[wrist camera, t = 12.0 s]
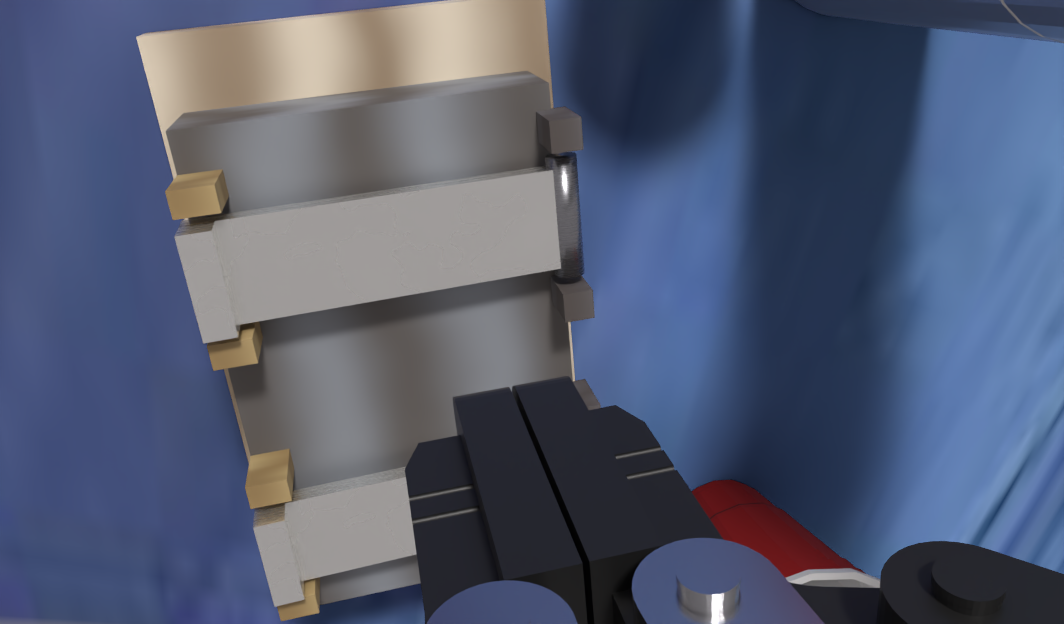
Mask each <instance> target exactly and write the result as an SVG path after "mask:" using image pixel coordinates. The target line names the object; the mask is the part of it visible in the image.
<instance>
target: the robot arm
mask: <svg viewBox="0 0 1064 624" xmlns="http://www.w3.org/2000/svg"><path fill="white" fill-rule="evenodd" d="M795 1H797V2H798V3H799V4H801V5H802V6H803V7H805V8H806V9H809V10H811V11H814V12H817V13H819V14H822V15H827V16H835V17H843V18H851V19H859V20H867V21H875V22H880V23H889V24H898V25H907V26H916V27H925V28H934V29H943V30H951V31H960V32H969V33H978V34H987V35H996V36H1005V37H1014V38H1023V39H1032V40H1040V41H1049V42H1058V43H1064V0H795ZM453 407H454V415H455V422H456V429H457V436H453V437H447V438H442V439H437V440H432V441H426V442H421V443H418V445H417V447H416V449H415V451H414V452H413V454H412V456H411V458H410V460H409V462H408V464H407V466H406V468H405V475H406V482H407V489H408V496H409V503H410V511H411V518H412V524H413V532H414V539H415V546H416V553H417V560H418V568H419V575H420V582H421V589H422V596H423V603H424V610H425V624H1064V574H1061V573H1058V572H1055V571H1052V570H1049V569H1046V568H1043V567H1040V566H1037V565H1034V564H1031V563H1028V562H1025V561H1022V560H1019V559H1016V558H1013V557H1010V556H1007V555H1004V554H1001V553H998V552H995V551H992V550H989V549H985V548H982V547H978V546H975V545H970V544H965V543H959V542H948V541H933V542H924V543H918V544H915V545H911V546H908V547H906V548H903V549H901V550H899V551H897V552H896V553H895V554H893V555H892V556H891V557H890V558H889V559H888V560H887V562H886V563H885V564H884V567H883V569H882V571H881V579H880V588H863V587H821V586H807V585H801V584H795V583H791V582H788V581H787V579H786V578H785V577H784V576H783V575H782V574H781V572H780V571H779V570H778V569H777V568H776V567H775V566H774V565H773V564H772V563H771V562H770V561H769V560H768V559H767V558H765V557H764V556H763V555H761V554H760V553H758V552H756V551H754V550H752V549H751V548H749V547H746V546H744V545H741V544H738V543H735V542H731V541H727V540H724V539H723V538H722V536H721V535H720V533H719V532H718V530H717V529H716V527H715V526H714V524H713V523H712V521H711V520H710V518H709V517H708V516H707V514H706V513H705V511H704V510H703V508H702V507H701V505H700V504H699V502H698V501H697V499H696V498H695V496H694V495H693V493H692V492H691V490H690V489H689V487H688V486H687V484H686V483H685V481H684V480H683V478H682V477H681V476H680V474H679V473H678V471H677V470H674V466H673V464H672V462H671V461H670V459H669V458H668V456H667V455H666V453H665V452H664V450H662V451H661V447H660V444H659V443H658V441H657V440H656V438H655V437H654V436H653V434H652V433H651V431H650V430H649V428H648V427H647V425H646V424H645V422H643V421H642V420H640V419H638V418H636V417H635V416H633V415H631V414H630V413H628V412H626V411H624V410H623V409H621V408H619V407H618V406H616V405H614V406H609V407H604V408H598V409H593V410H588V408H587V406H586V405H585V403H584V401H583V399H582V398H581V396H580V394H579V392H578V390H577V389H576V387H575V385H574V383H573V382H572V380H571V378H570V377H569V376H563V377H558V378H552V379H547V380H541V381H536V382H530V383H525V384H519V385H514V386H512V392H511V389H510V388H509V387H504V388H499V389H493V390H488V391H482V392H477V393H471V394H466V395H460V396H455V397H453Z"/></svg>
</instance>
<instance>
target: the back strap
mask: <svg viewBox="0 0 1064 624" xmlns="http://www.w3.org/2000/svg"><path fill="white" fill-rule="evenodd" d="M405 468H406V467H401V468H397V469H392V470H387V471H383V472H378V473H373V474H369V475H364V476H359V477H355V478H350V479H345V480H341V481H336V482H331V483H327V484H322V485H317V486H313V487H308V488H303V489H299V490H294V491H293V492H292V501H289V502H284V503H279V504H274V505H269V506H264V507H259V508H255V512H254V524H253V529H254V532H255V536H256V540H257V543H258V547H259V551H260V554H261V558H262V562H263V565H264V569H265V573H266V577H267V580H268V584H269V588H270V591H271V595H272V599H273V602H274V606H275V607H276V606H280V605H284V604H288V603H293V602H297V601H301V600H304V581H305V580H310V579H314V578H318V577H322V576H327V575H331V574H335V573H339V572H344V571H348V570H352V569H356V568H361V567H365V566H369V565H373V564H378V563H382V562H386V561H390V560H395V559H399V558H403V557H407V556H412V555H416V554H417V553H416V546H415V539H414V532H413V524H412V518H411V511H410V503H409V496H408V489H407V482H406V475H405Z"/></svg>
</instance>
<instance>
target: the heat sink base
mask: <svg viewBox="0 0 1064 624" xmlns="http://www.w3.org/2000/svg"><path fill="white" fill-rule="evenodd" d="M136 38H137V42H138V46H139V49H140V53H141V57H142V61H143V64H144V68H145V72H146V76H147V80H148V83H149V87H150V91H151V95H152V99H153V102H154V106H155V110H156V114H157V118H158V121H159V125H160V129H161V133H162V136H163V140H164V144H165V148H166V152H167V155H168V159H169V163H170V167H171V171H172V174H173V178H174V180H173V182H172V183H171V184H170V186H169V187H168V188H167V190H166V191H165V193H166V197H167V200H168V204H169V208H170V211H171V215H172V219H173V220H177V219H184V220H188V219H195V218H201V217H208V216H215V215H221V214H228V213H235V212H241V211H248V210H255V209H261V208H268V207H274V206H281V205H288V204H294V203H301V202H308V201H314V200H321V199H328V198H334V197H341V196H348V195H354V194H361V193H368V192H374V191H381V190H388V189H394V188H401V187H408V186H414V185H421V184H428V183H434V182H441V181H448V180H454V179H461V178H467V177H474V176H481V175H487V174H494V173H501V172H507V171H514V170H521V169H527V168H534V167H541V166H546V164H545V156H546V155H548V154H555V153H562V152H570V151H577V150H583V136H582V121H581V116H579V115H577V114H576V113H574V112H573V111H571V110H570V109H568V108H566V107H558V108H553V96H552V84H551V71H550V58H549V46H548V33H547V20H546V8H545V0H448V1H438V2H429V3H420V4H411V5H401V6H392V7H383V8H374V9H364V10H355V11H346V12H336V13H327V14H318V15H309V16H299V17H290V18H281V19H272V20H262V21H253V22H244V23H234V24H225V25H216V26H207V27H197V28H188V29H179V30H170V31H160V32H151V33H145V34H143V35H140V36H137V37H136ZM589 318H595V317H594V302H593V290H592V288H591V287H590V286H589V285H588V283H587V282H586V281H585V280H584V278H583V277H582V276H579V277H575V278H560V277H557V276H556V275H555V270H550V271H544V272H539V273H533V274H527V275H521V276H516V277H510V278H504V279H499V280H493V281H487V282H481V283H476V284H470V285H464V286H458V287H453V288H447V289H441V290H436V291H430V292H424V293H418V294H413V295H407V296H401V297H395V298H390V299H384V300H378V301H373V302H367V303H361V304H355V305H350V306H344V307H338V308H332V309H327V310H321V311H315V312H310V313H304V314H298V315H292V316H287V317H281V318H275V319H269V320H264V321H258V322H252V323H247V324H241V325H240V331H239V336H238V337H237V338H232V339H226V340H221V341H215V342H209V343H208V345H207V349H208V352H209V356H210V360H211V363H212V367H213V371H215V370H221V369H224V371H225V375H226V379H227V383H228V386H229V390H230V394H231V398H232V402H233V405H234V409H235V413H236V417H237V421H238V424H239V428H240V432H241V436H242V439H243V443H244V447H245V451H246V455H247V458H248V462H249V468H248V474H247V480H246V486H245V489H246V493H247V497H248V501H249V504H250V508H251V509H253V508H259V507H264V506H269V505H274V504H279V503H284V502H289V501H292V492H293V491H294V490H299V489H303V488H308V487H313V486H317V485H322V484H327V483H331V482H336V481H341V480H345V479H350V478H355V477H359V476H364V475H369V474H373V473H378V472H383V471H387V470H392V469H397V468H401V467H406V466H407V464H408V462H409V460H410V458H411V456H412V454H413V452H414V451H415V449H416V447H417V445H418V443H421V442H426V441H432V440H437V439H442V438H447V437H453V436H457V429H456V422H455V415H454V407H453V397H455V396H460V395H466V394H471V393H477V392H482V391H488V390H493V389H499V388H504V387H509V388H510V389H511V392H512V386H514V385H519V384H525V383H530V382H536V381H541V380H547V379H552V378H558V377H563V376H569V377H570V378H571V380H572V382H573V383H574V385H575V387H576V389H577V390H578V392H579V394H580V396H581V398H582V399H583V401H584V403H585V405H586V406H587V408H588V410H593V409H598V408H600V403H599V402H598V400H597V398H596V397H595V395H594V393H593V392H592V390H591V388H590V387H589V385H588V383H587V382H586V380H585V379H583V380H577V381H575V375H574V362H573V349H572V337H571V324H570V322H572V321H578V320H584V319H589ZM419 583H421V582H420V575H419V568H418V560H417V554H416V555H412V556H407V557H403V558H399V559H395V560H390V561H386V562H382V563H378V564H373V565H369V566H365V567H361V568H356V569H352V570H348V571H344V572H339V573H335V574H331V575H327V576H322V577H318V578H314V579H310V580H305V581H304V600H301V601H297V602H293V603H288V604H284V605H280V606H277V608H278V612H279V615H280V619H281V621H285V620H289V619H294V618H298V617H303V616H307V615H312V614H317V613H319V605H323V604H327V603H332V602H336V601H341V600H346V599H350V598H355V597H359V596H364V595H369V594H373V593H378V592H382V591H387V590H392V589H396V588H401V587H405V586H410V585H415V584H419Z"/></svg>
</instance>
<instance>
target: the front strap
mask: <svg viewBox="0 0 1064 624" xmlns="http://www.w3.org/2000/svg"><path fill="white" fill-rule="evenodd" d="M545 164H546V166H541V167H534V168H527V169H521V170H514V171H507V172H501V173H494V174H487V175H481V176H474V177H467V178H461V179H454V180H448V181H441V182H434V183H428V184H421V185H414V186H408V187H401V188H394V189H388V190H381V191H374V192H368V193H361V194H354V195H348V196H341V197H334V198H328V199H321V200H314V201H308V202H301V203H294V204H288V205H281V206H274V207H268V208H261V209H255V210H248V211H241V212H235V213H228V214H221V215H215V216H208V217H201V218H195V219H188V220H182V221H181V224H180V226H179V228H178V230H177V232H176V234H175V236H174V237H175V241H176V244H177V248H178V252H179V255H180V259H181V263H182V266H183V270H184V274H185V277H186V281H187V285H188V288H189V292H190V296H191V300H192V303H193V307H194V311H195V314H196V318H197V322H198V325H199V329H200V333H201V336H202V340H203V344H204V343H209V342H215V341H221V340H226V339H232V338H237V337H238V336H239V331H240V325H241V324H247V323H252V322H258V321H264V320H269V319H275V318H281V317H287V316H292V315H298V314H304V313H310V312H315V311H321V310H327V309H332V308H338V307H344V306H350V305H355V304H361V303H367V302H373V301H378V300H384V299H390V298H395V297H401V296H407V295H413V294H418V293H424V292H430V291H436V290H441V289H447V288H453V287H458V286H464V285H470V284H476V283H481V282H487V281H493V280H499V279H504V278H510V277H516V276H521V275H527V274H533V273H539V272H544V271H550V270H555V275H556V276H557V277H560V278H575V277H579V276H581V275H583V274H584V258H583V244H582V229H581V215H580V201H579V186H578V172H577V158H576V153H573V152H562V153H555V154H548V155H546V156H545Z"/></svg>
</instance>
